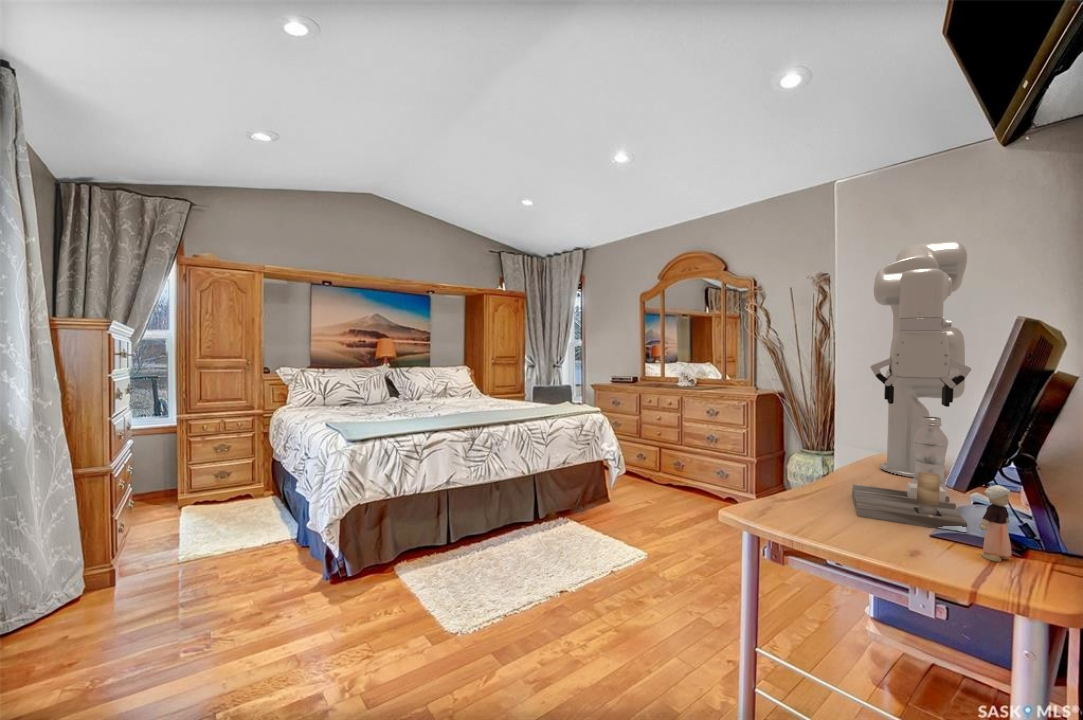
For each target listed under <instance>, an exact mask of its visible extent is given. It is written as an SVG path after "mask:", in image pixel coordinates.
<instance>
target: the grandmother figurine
mask: <svg viewBox="0 0 1083 720" xmlns="http://www.w3.org/2000/svg"><path fill="white" fill-rule="evenodd" d="M984 495H986V497H987V498H988V501H989V503H991V504H989V505H988V506H987V507H986V510H985V513H984V515H983V517H982V520H981V523H980V525H979V529H980V530H981V531H985V535H984V538H983V540H984V541H983V548H982V549H983V552H981V553H980V556H981V557H983V558H985V559H987V560H989V561H991V562H996V563H997V562H1000V563H1001V562H1002V560H1008V559H1009V557H1012V555H1013V554H1012V547H1011V546H1012V545H1011V540H1010V536H1009V535H1010V534H1009V529H1008V525H1009V524H1010V523H1011V521H1010V516H1009V511H1008V509H1007V505H1008V504H1009V501H1010V499H1009V497H1010V496H1011V491H1010V489H1008V488H1007V487H1005V486H1002V485H998V484H995V485H992V486H989V487H987V488H986V489H985V490H984Z"/></svg>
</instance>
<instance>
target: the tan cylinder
mask: <svg viewBox="0 0 1083 720" xmlns="http://www.w3.org/2000/svg"><path fill="white" fill-rule="evenodd" d="M939 488H940V475H938V474H935V473H929V472H918V483H917V501H918V502H919V506H918V513H920V514H927V515H934V516H937V505H939Z"/></svg>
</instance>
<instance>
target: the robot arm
mask: <svg viewBox="0 0 1083 720" xmlns="http://www.w3.org/2000/svg"><path fill="white" fill-rule="evenodd" d="M967 265H968V253H967V249H966V247H965V246H964V245H963V244H962V243H961V242H959V241H955V240H951V241H949V240H948V241H936V242H927V243H918V244H912V245H909V246H906V247H904V248H903V249H902V250H900V252H898V254H897V256H896V258H895V262H892V263H889V264H886V265H885V266H881V268H879V269H878V271H877V272H876V275H875V278H874V285H873V296H874V299H875V301H876V303H878V304H879V305H881V306H890V308H891V311H892V316H893V318H892V340H891V343H890V350H889V351H890V352H889V358H887V359H884V360H881V361H879V362H876V363H874V364H871V365H870V369H871V371H872V372H873V374H874V376H875V377H876V378H877V380H879V381H880V382H881V383H882V384H883V385H884V393H883V394H884V400H887V404H888V405H887V406H888V407H887V409H888V410H887V443H886V444H887V447H886V449H887V450H886V462H884V463H881V464H879V465H880V466H879V469H880V468H881V469H883V470H885V471H888V472H891V473H890V474H892V473H894V474H893V475H896V474H898V476H901V475H902V477H910V478H914V472H915V461H916V460H915V448H914V439H913V438H914V435H915V434H916V432H917V431H918V430H919V429H920V428H921V427H922V424H921V417H922V416H930V415H931V414H930V412H929V409H928V408H927V407H926V406H925V405H924V404H923V403H922V402H921V401H920V399H919V398H922V399H923V398H927V399H930V398H931V399H941V405H942V406H944V407H947V408H948V407H950V404H951V403H954V399H958V398H961V396H963V394H964V392H965V388H966V387H965V386H966V378H967V376H969V374H970V373H971V371H972V368H971V367H970V366H967V365H966V347H965V346H966V345H965V343H966V342H965V338H964V337H965V336H964V334H963V333H962V331H961V330H960V328H957V327H953V326H952V325H953V323H952V320H946V319H945V318H944V304H945V303H944V302H945V301H946V300H947V299H948V298H949V297H950V296H951V295H952V293H954V292H955V291H958V289H959V288H960V287H961V286H962V282H963V279H964V276H965V275H964V274H965V271H966V269H967ZM887 366H888V368H887V370H886V373H885V375H884V374H883V373H882V372H881V369H882V368H885V367H887ZM881 469H880V470H881ZM883 470H882V471H883ZM885 471H884V472H885ZM888 472H887V473H888Z"/></svg>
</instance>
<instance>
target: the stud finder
mask: <svg viewBox="0 0 1083 720" xmlns="http://www.w3.org/2000/svg"><path fill="white" fill-rule="evenodd" d="M906 487H907V488H906V489H907V490H906V491H907V496H908V497H910V498H917V484H914V483H912V482H907V486H906ZM945 495H946V496H947V491H946V492H945V490H944V489H943V488H942V487H940V488H939V501H940V502H945Z"/></svg>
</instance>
